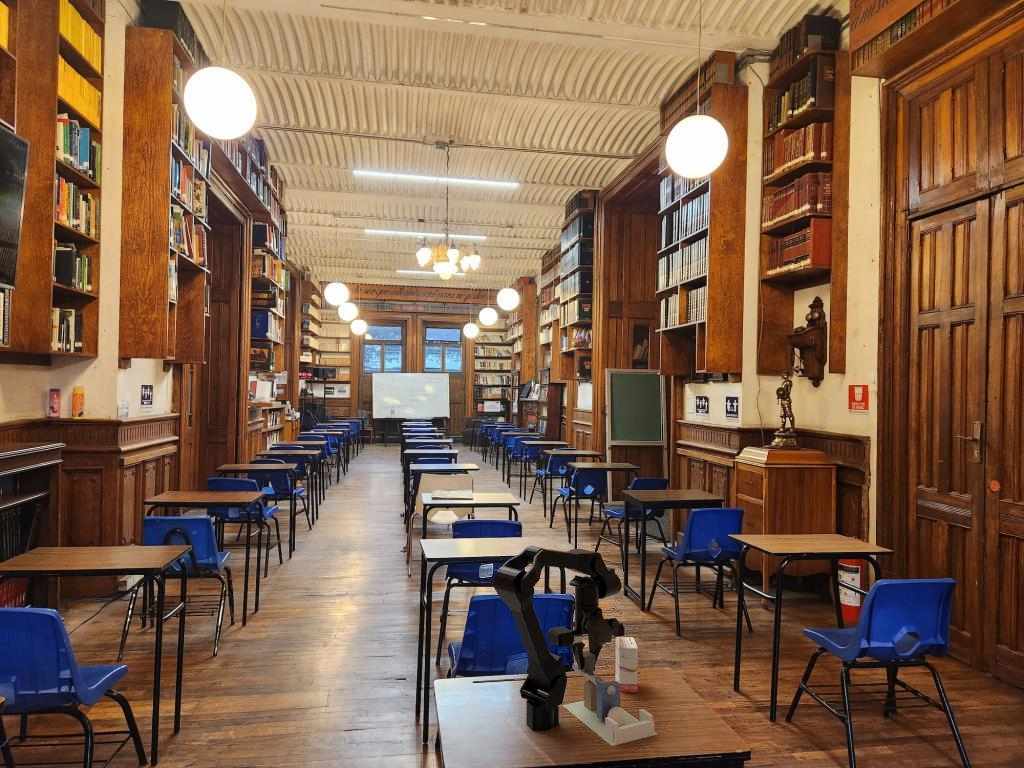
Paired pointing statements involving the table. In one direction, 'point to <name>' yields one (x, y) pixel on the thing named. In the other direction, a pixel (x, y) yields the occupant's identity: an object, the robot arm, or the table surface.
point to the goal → (630, 729)
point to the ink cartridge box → (626, 664)
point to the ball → (617, 715)
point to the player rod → (600, 686)
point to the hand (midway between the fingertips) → (586, 667)
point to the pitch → (594, 712)
